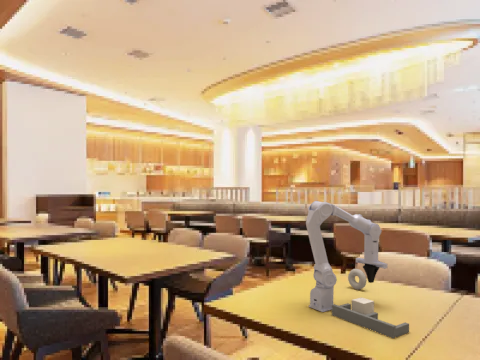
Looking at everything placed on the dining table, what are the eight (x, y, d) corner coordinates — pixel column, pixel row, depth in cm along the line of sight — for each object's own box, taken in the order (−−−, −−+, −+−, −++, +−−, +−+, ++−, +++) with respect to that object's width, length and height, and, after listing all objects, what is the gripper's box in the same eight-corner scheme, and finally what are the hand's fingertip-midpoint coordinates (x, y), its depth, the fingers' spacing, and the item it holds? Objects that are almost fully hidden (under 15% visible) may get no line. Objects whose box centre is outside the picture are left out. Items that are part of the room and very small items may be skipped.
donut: (368, 291, 182) (368, 270, 182) (363, 292, 180) (363, 271, 180) (350, 286, 190) (351, 266, 190) (346, 287, 188) (346, 267, 188)
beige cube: (351, 315, 149) (351, 299, 149) (361, 312, 152) (361, 297, 152) (364, 319, 144) (364, 303, 144) (374, 316, 147) (374, 301, 147)
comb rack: (393, 338, 126) (393, 326, 126) (331, 315, 148) (332, 304, 148) (409, 332, 132) (409, 320, 132) (347, 310, 153) (347, 300, 153)
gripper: (392, 252, 158) (391, 284, 158) (363, 247, 170) (362, 277, 170) (381, 254, 154) (381, 287, 154) (352, 248, 166) (352, 279, 166)
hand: (370, 282), depth 162 cm, fingers closed
